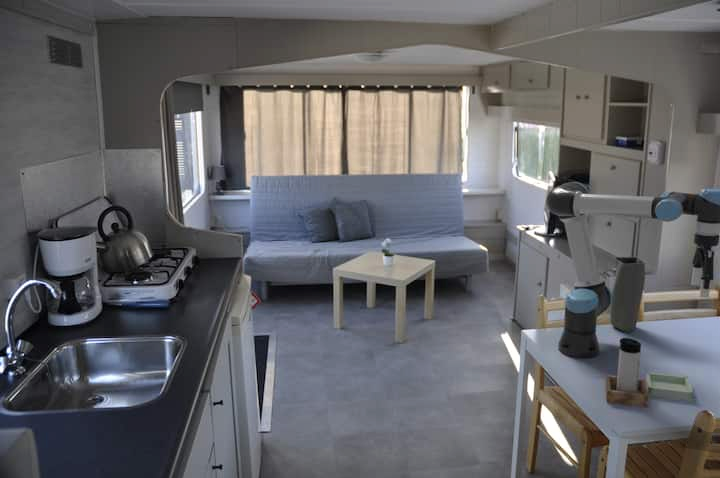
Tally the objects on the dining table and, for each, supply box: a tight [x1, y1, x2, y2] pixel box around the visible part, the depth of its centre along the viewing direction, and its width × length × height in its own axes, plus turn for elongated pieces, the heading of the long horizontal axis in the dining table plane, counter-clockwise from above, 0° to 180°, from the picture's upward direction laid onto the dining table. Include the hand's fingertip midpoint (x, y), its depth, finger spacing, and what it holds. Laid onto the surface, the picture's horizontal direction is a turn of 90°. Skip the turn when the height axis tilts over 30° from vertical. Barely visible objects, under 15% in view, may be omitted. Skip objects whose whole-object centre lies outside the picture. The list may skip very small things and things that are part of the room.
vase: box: [609, 256, 646, 333], centre depth 252 cm, size 12×12×30 cm
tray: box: [644, 371, 694, 402], centre depth 202 cm, size 13×12×3 cm
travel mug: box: [615, 337, 642, 393], centre depth 197 cm, size 6×7×20 cm
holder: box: [605, 374, 649, 408], centre depth 199 cm, size 12×12×4 cm
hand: (699, 291), depth 216 cm, fingers open, 13 cm apart
